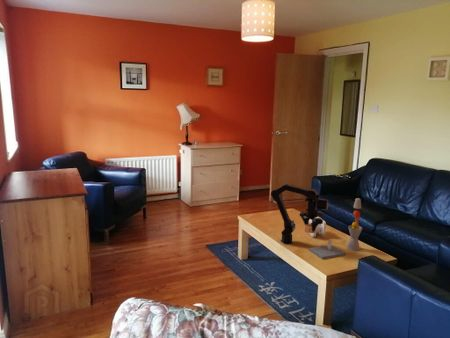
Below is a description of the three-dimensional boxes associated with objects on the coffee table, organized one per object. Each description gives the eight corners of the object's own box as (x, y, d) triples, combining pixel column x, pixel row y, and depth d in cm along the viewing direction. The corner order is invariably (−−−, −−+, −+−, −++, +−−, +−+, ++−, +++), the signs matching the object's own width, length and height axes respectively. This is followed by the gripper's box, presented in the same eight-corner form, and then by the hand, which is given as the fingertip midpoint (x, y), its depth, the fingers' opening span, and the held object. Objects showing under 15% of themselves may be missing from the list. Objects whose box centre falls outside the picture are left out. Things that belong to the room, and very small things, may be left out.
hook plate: (322, 259, 222) (323, 245, 220) (309, 250, 235) (309, 237, 233) (344, 255, 229) (346, 241, 227) (331, 246, 241) (332, 234, 239)
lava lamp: (349, 244, 246) (353, 196, 239) (362, 247, 240) (367, 198, 233) (344, 248, 239) (348, 198, 232) (357, 252, 233) (362, 201, 227)
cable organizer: (325, 237, 257) (327, 222, 255) (312, 238, 255) (313, 223, 253) (316, 230, 272) (317, 215, 269) (303, 231, 269) (304, 216, 267)
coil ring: (308, 233, 234) (309, 228, 233) (302, 230, 240) (303, 224, 240) (317, 232, 237) (317, 226, 236) (311, 228, 243) (311, 223, 242)
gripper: (330, 210, 230) (328, 233, 233) (313, 202, 247) (311, 224, 250) (316, 212, 226) (314, 235, 229) (299, 204, 243) (298, 225, 246)
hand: (310, 229), depth 238 cm, fingers closed on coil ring, 7 cm apart
